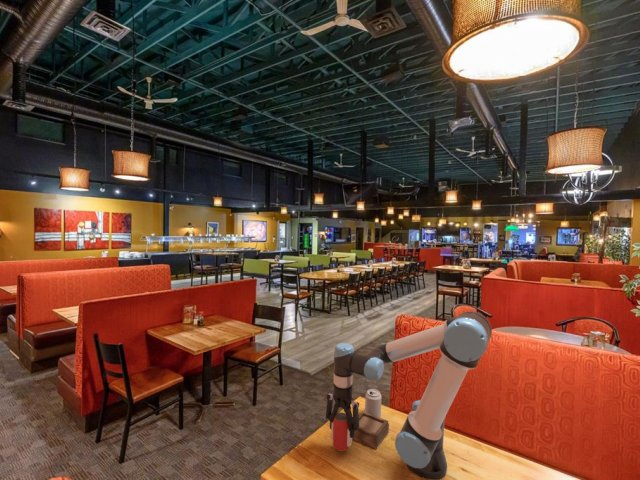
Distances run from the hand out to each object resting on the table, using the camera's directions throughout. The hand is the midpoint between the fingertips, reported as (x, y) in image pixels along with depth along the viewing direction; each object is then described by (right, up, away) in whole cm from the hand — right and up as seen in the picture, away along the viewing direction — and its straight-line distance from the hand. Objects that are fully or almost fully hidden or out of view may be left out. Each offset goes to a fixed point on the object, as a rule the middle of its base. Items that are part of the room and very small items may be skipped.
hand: (341, 440), depth 126 cm
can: (+16, -4, +24) cm, 29 cm away
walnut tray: (+13, -4, +11) cm, 17 cm away
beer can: (0, -2, 0) cm, 2 cm away
